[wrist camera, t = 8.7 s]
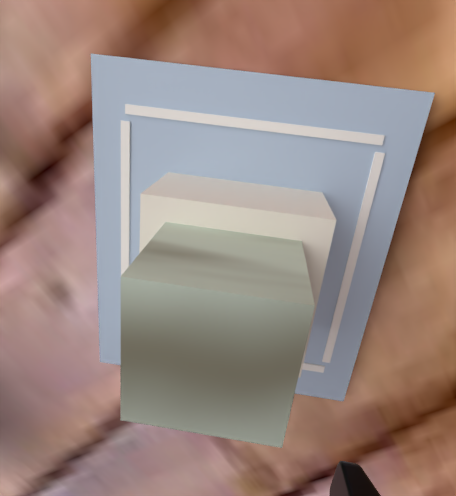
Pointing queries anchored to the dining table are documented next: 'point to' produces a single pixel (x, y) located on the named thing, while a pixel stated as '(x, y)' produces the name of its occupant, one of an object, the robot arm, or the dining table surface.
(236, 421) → the sage block
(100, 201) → the blueprint board
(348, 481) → the robot arm
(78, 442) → the dining table surface
